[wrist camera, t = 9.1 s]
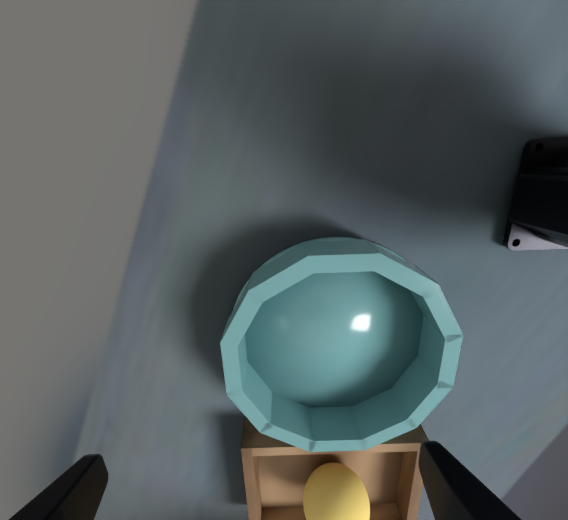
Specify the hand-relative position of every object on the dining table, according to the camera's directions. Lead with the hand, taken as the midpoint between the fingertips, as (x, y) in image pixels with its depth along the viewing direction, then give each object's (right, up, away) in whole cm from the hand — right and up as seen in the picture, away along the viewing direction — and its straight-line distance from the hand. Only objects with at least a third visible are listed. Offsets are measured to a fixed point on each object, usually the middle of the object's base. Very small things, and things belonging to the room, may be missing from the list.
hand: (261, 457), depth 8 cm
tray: (+5, -12, +17) cm, 21 cm away
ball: (+5, -13, +14) cm, 20 cm away
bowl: (+4, 0, +13) cm, 13 cm away
